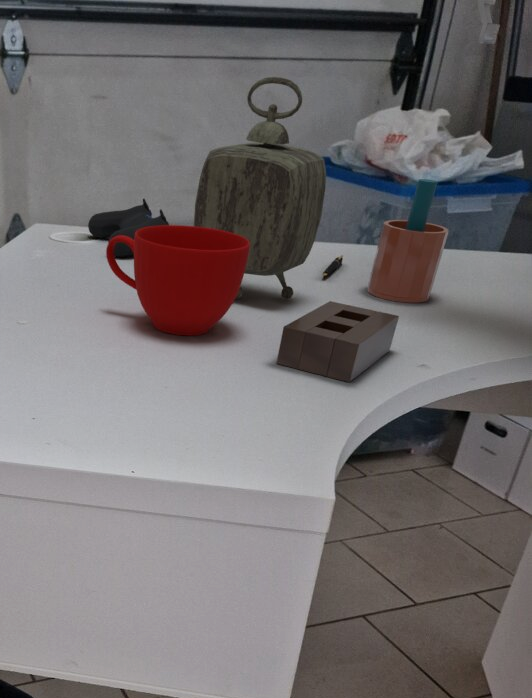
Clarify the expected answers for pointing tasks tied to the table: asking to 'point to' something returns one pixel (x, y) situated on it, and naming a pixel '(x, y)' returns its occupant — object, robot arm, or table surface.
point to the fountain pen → (333, 266)
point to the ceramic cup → (184, 274)
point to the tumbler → (406, 262)
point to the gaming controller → (124, 225)
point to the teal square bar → (421, 205)
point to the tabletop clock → (265, 193)
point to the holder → (337, 340)
